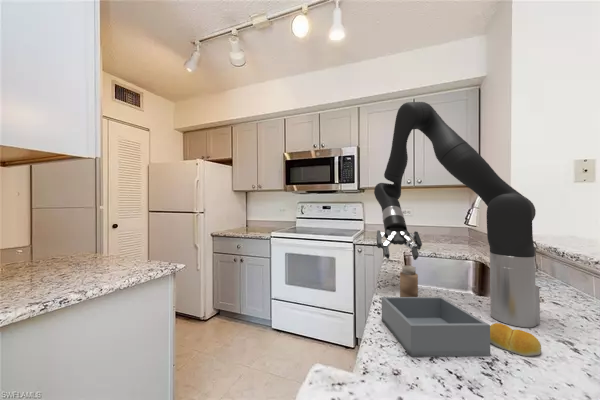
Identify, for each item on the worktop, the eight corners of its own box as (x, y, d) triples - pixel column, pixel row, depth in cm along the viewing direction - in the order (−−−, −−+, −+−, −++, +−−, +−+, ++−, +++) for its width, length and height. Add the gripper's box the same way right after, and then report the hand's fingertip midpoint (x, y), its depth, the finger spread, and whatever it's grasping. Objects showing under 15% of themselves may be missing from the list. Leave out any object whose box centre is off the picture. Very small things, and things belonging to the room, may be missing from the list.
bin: (442, 320, 66) (441, 297, 66) (490, 355, 50) (490, 325, 50) (381, 320, 65) (381, 297, 66) (411, 356, 49) (410, 325, 50)
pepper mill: (413, 305, 76) (412, 265, 77) (421, 311, 72) (421, 268, 72) (397, 305, 76) (397, 265, 77) (404, 311, 71) (404, 268, 72)
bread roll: (538, 363, 48) (538, 342, 48) (482, 344, 55) (482, 325, 55) (544, 348, 54) (543, 329, 54) (492, 332, 60) (491, 315, 60)
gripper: (375, 213, 92) (380, 250, 81) (416, 214, 90) (428, 251, 79) (373, 227, 97) (377, 263, 86) (411, 228, 95) (422, 265, 84)
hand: (401, 257), depth 82 cm, fingers open, 8 cm apart
